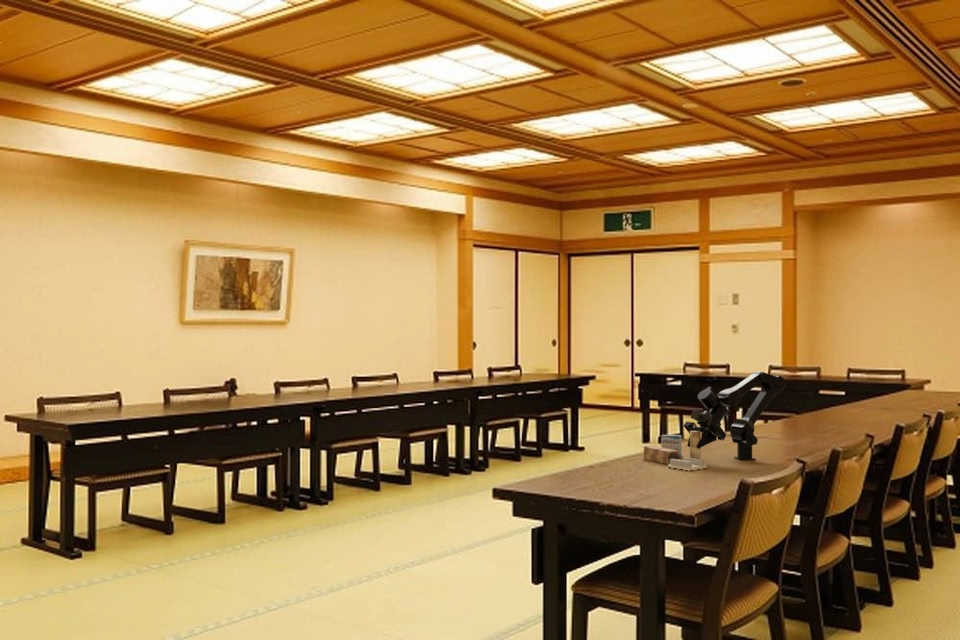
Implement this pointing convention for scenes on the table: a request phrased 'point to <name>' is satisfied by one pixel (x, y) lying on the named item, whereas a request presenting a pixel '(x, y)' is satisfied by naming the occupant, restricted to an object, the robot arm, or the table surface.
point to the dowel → (695, 444)
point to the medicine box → (672, 442)
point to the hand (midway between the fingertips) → (692, 447)
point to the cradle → (687, 464)
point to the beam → (660, 454)
